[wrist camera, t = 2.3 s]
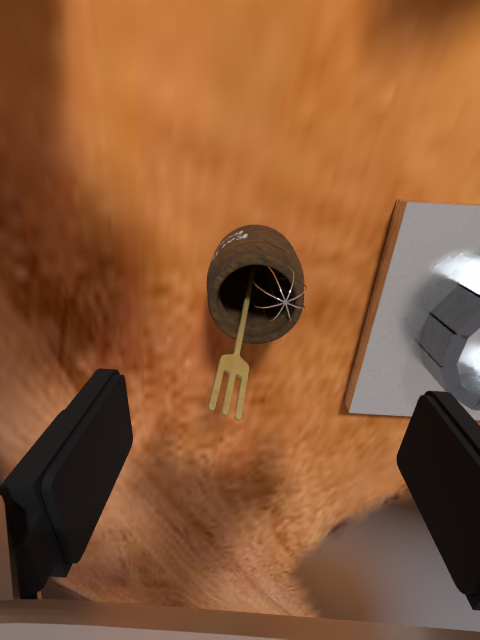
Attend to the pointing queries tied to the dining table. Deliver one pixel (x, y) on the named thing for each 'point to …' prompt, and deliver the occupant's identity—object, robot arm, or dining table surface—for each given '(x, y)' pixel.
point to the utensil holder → (252, 299)
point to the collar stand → (422, 313)
